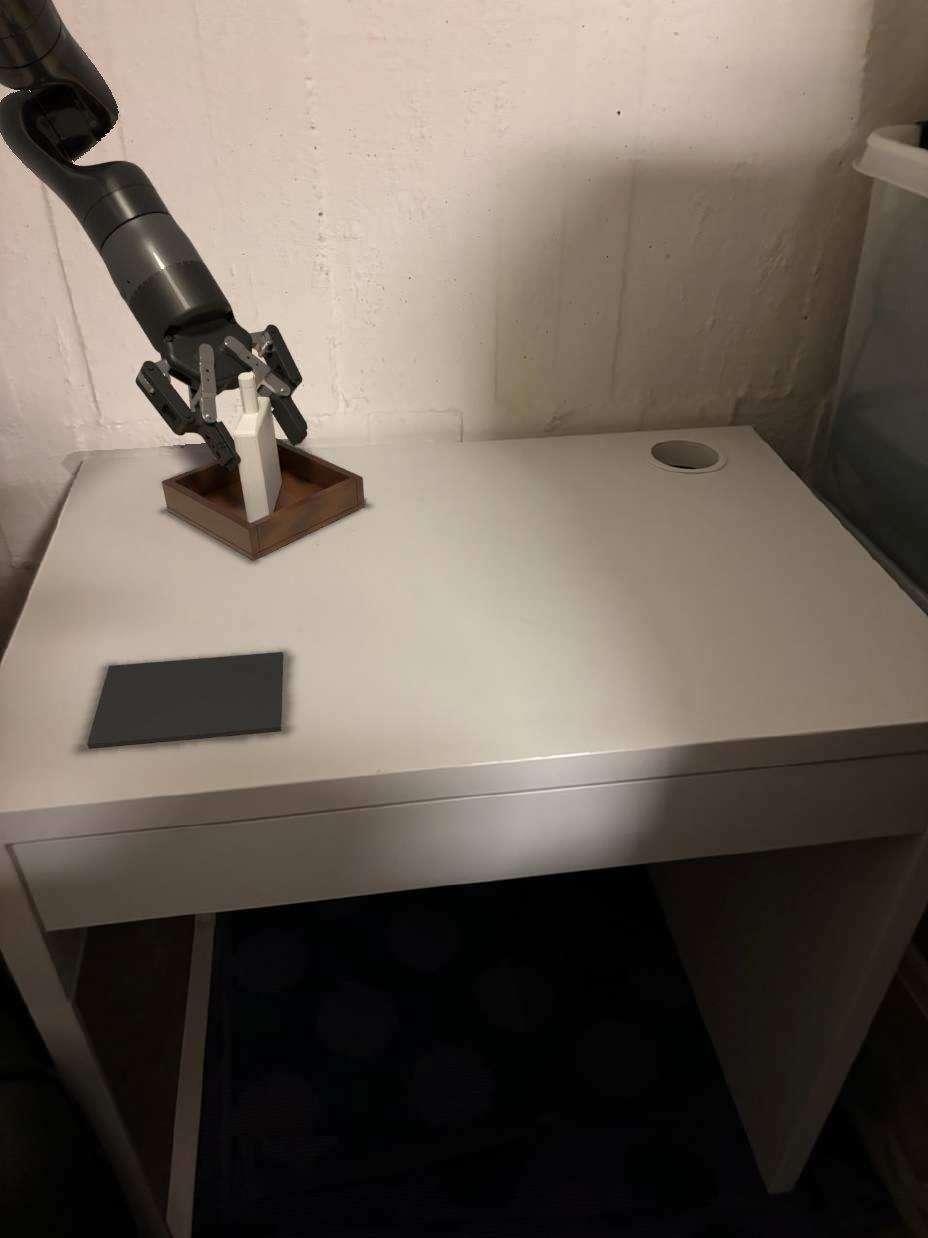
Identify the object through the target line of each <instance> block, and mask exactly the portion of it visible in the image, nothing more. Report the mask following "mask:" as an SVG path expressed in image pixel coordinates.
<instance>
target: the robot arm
mask: <svg viewBox="0 0 928 1238" xmlns="http://www.w3.org/2000/svg"><path fill="white" fill-rule="evenodd" d="M79 45H80V44H79V43H78V42H77V41H76V38H74V37H73V35H72V34H71V32H70V31H69V30H68V28H67V26H66V24H65V23H64V20H63V19H62V18H61V15H60V14H59V11H58V9H57V7H56V5H55V3H54V2H53V0H0V85H2V86H3V87H5V88H8V89H9V90H10V89H14V90H20V91H17V92H15V93H14V92H13V93H10V94H9V95H7V96H6V97H4V98H3V99H2V100H1V102H0V133H1V135H2V137H3V139H4V141H5V142H6V144H7V145H8V146H9V148H10V149H11V150H12V152H13V153H14V154H15V155H16V156H17V157H18V158H19V159H20V160H21V161H22V163H23V164H24V165H25V166H26V169H28V168H29V169H30V170H31V171H32V172H33V173H34V174H35V175H36V177H37V179H39V180H40V181H41V182H42V184H44V183H45V186H47V187H48V188H49V189H50V190H51V192H53V193H54V194H55V195H56V197H58V198H59V199H60V200H61V201H62V203H64V204H65V206H66V207H67V208H68V209H69V210H70V212H71V213H72V215H73V216H74V217H75V218H76V220H77V222H78V223H79V224H80V226H81V228H82V229H83V231H84V232H85V234H86V235H87V237H88V238H89V240H90V242H91V243H92V245H93V247H94V248H95V250H96V251H97V253H98V255H99V256H100V258H101V259H102V261H103V263H104V265H105V267H106V269H107V271H108V274H109V276H110V279H111V280H112V282H113V285H114V286H115V288H116V289H117V291H118V293H119V296H120V297H121V298H122V301H124V302H125V304H126V305H127V307H128V310H130V312H131V313H132V315H133V317H134V318H135V320H136V322H137V323H138V325H139V326H140V328H141V330H142V331H143V333H144V335H145V337H146V338H147V339H148V341H149V343H150V344H151V346H152V348H153V349H154V351H155V352H157V353H158V354H159V355H160V360H158V361H153V360H145V361H144V362H143V363H142V365H141V367H140V369H139V371H138V373H137V375H136V378H135V384H136V386H137V387H138V388H139V389H140V391H141V392H142V394H143V395H144V396H145V397H146V399H147V400H148V401H149V403H150V404H151V405H152V407H153V408H154V409H155V410H156V412H157V413H158V414H159V416H160V417H161V419H163V421H164V422H165V423H166V425H167V427H169V428H170V430H171V431H172V432H173V434H174V435H176V436H180V437H181V436H182V437H183V436H184V435H185V434H196V435H199V436H200V437H202V439H203V441H204V442H205V444H206V446H207V447H208V449H209V451H210V453H211V454H212V455H213V457H214V459H215V460H217V462H218V463H219V464H220V465H221V466H223V467H224V466H226V467H227V469H228V470H229V471H232V470H235V469H237V468H239V466H238V465H239V464H240V462H241V458H240V456H239V455H238V454H237V452H236V448H235V442H234V437H233V435H231V433H230V431H229V430H228V428H227V426H226V425H225V423H224V422H223V420H220V421H218V420H217V419H218V412H217V403H216V402H217V401H216V397H217V396H219V395H220V394H222V393H223V392H224V391H234V390H237V389H239V388H240V386H239V380H238V377H239V375H240V374H242V373H246V372H251V373H253V374H254V377H255V383H256V390H257V397H269V398H270V402H271V408H272V415H273V418H274V419H275V421H276V422H277V423H278V425H279V427H280V428H281V430H282V431H283V434H284V435H285V436H286V438H287V440H288V441H289V444H290V445H292V446H295V447H296V446H297V445H301V444H302V443H303V442H304V441H305V439H306V438H307V437H308V429H309V427H308V423H307V421H306V420H305V418H304V416H303V415H302V413H301V412H300V410H299V408H298V407H297V404H296V402H295V401H294V400H293V398H292V397H293V394H294V392H295V391H296V390H297V388H298V387H299V386H300V385H301V384H302V382H303V376H302V374H301V372H300V370H299V368H298V365H297V364H296V362H295V360H294V357H293V356H292V353H291V351H290V349H289V347H288V345H287V343H286V341H285V339H284V337H283V335H282V334H281V331H280V329H279V328H278V326H276V325H275V324H268V325H267V326H266V328H265V329H264V330H260V331H255V332H249V331H248V330H247V329H245V328H244V327H243V326H241V325H240V324H239V322H237V319H236V317H235V314H234V310H233V307H232V305H231V303H230V301H229V299H228V298H227V297H226V295H225V293H224V292H223V290H222V288H221V287H220V286H219V284H218V281H217V280H216V279H215V277H214V276H213V273H211V270H210V269H209V268H208V266H207V264H206V263H205V261H204V260H203V258H202V256H201V255H200V253H199V251H198V250H197V248H196V247H195V245H194V244H193V242H192V240H191V238H189V236H188V234H187V233H186V232H185V230H183V229H182V228H181V227H180V225H179V223H178V222H177V221H176V219H175V218H174V216H173V214H172V213H171V212H170V210H169V209H168V207H167V205H166V204H165V202H164V200H163V198H162V197H161V195H160V194H159V192H158V190H157V189H156V187H155V185H154V184H153V182H152V181H151V179H150V178H149V176H148V175H147V174H146V172H145V171H144V170H143V168H141V167H140V166H139V165H137V164H136V163H134V162H132V161H128V160H111V161H106V162H100V163H94V164H88V165H80V166H79V165H75V164H73V162H72V160H73V161H74V162H75V161H76V160H77V159H79V157H80V158H81V156H83V155H84V153H85V154H86V152H88V151H90V149H91V148H92V147H94V146H95V145H96V144H97V143H98V142H99V141H101V138H103V137H105V136H106V135H105V134H107V133H109V132H110V130H111V129H113V128H114V127H113V126H114V125H115V124H116V121H117V120H118V113H119V111H118V109H117V108H118V106H117V104H116V101H115V99H114V97H113V95H112V92H111V90H110V89H109V87H108V85H107V84H106V82H105V80H104V79H103V77H102V76H101V74H100V73H99V71H98V70H97V68H96V67H95V65H94V64H93V63H92V62H91V60H90V59H89V58H88V56H87V55H86V53H87V52H86V51H85V50H84V49H83V47H82V46H81V45H80V46H79ZM82 49H83V50H84V51H85V52H86V53H85V52H84V51H83V50H82ZM29 90H30V91H31V92H30V91H29ZM1 135H0V136H1ZM2 137H1V138H2ZM3 139H2V140H3ZM4 141H3V142H4ZM97 141H98V142H97ZM5 142H4V143H5ZM6 144H5V145H6ZM7 145H6V146H7ZM9 148H8V149H9ZM10 149H9V150H10ZM12 152H11V153H12ZM13 153H12V154H13ZM14 154H13V155H14ZM15 155H14V156H15ZM16 156H15V157H16ZM17 157H16V158H17ZM18 158H17V159H18ZM19 159H18V160H19ZM22 163H21V164H22ZM23 164H22V165H23ZM24 165H23V166H24ZM25 166H24V167H25ZM29 169H28V170H29ZM30 170H29V171H30ZM31 171H30V172H31ZM32 172H31V173H32ZM33 173H32V174H33ZM34 174H33V175H34ZM35 175H34V176H35ZM253 350H255V351H256V352H257V356H256V355H255V354H253ZM261 359H264V361H263V360H261ZM171 377H172V378H174V379H175V380H177V381H179V382H180V383H181V384H184V385H185V386H187V390H188V400H189V405H188V404H187V402H185V400H184V399H183V397H182V396H181V395H180V393H179V392H178V391H177V389H176V388H175V387H174V385H173V384H172V378H171Z"/></svg>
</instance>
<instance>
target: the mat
mask: <svg viewBox="0 0 928 1238" xmlns="http://www.w3.org/2000/svg"><path fill="white" fill-rule="evenodd" d="M283 670H284V653H283V651H276V652H265V653H264V652H263V653H262V652H261V653H251V654H250V653H249V654H238V655H228V656H227V655H226V656H214V657H213V656H212V657H201V658H192V659H191V658H189V659H188V658H187V659H177V660H176V659H175V660H166V661H165V660H164V661H151V662H140V663H127V664H126V663H125V664H115V665H108V668H107V672H106V675H105V678H104V682H103V685H102V690H101V692H100V697H99V700H98V704H97V708H96V711H95V715H94V718H93V722H92V726H91V728H90V733H89V736H88V739H87V748H88V749H95V748H106V747H117V746H127V745H128V746H130V745H139V744H150V743H151V744H152V743H161V742H172V741H184V740H193V739H195V740H196V739H205V738H206V739H207V738H218V737H228V736H229V737H230V736H238V735H249V734H261V733H272V732H281V730H282V704H283V703H282V701H283Z"/></svg>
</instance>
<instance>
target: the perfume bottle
mask: <svg viewBox="0 0 928 1238" xmlns="http://www.w3.org/2000/svg"><path fill="white" fill-rule="evenodd" d="M238 380H239V386H240V388H238V389H239V396H240V402H241V407H242V413H241V415H240V417H239V420H238V422H237V425H236V427H235V430H234V431H233V435H232V438H233V440H234V442H235V448H236V452H237V454H238V455H239V456H240V458H241V462H240V464H239V465H238V466H239V472H240V478H241V484H242V489H243V495H244V501H245V507H246V513H247V519H248V522H250V523H252V522H253V521H256V520H258V519H260V518H262V517H265V516H267V515H269V514H271V513H273V512H274V508H275V505H276V501H277V498H278V494H279V491H280V487H281V484H282V479H281V472H280V465H279V458H278V451H277V443H276V438H277V437H276V429H275V423H274V415H273V414H272V410H273V408H272V407H271V402H270V398H269V397H257V390H256V383H255V375H254V373H253V372H252V371H251V372H246V373H242V374H240V375H239V377H238Z"/></svg>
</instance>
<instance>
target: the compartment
mask: <svg viewBox="0 0 928 1238" xmlns="http://www.w3.org/2000/svg"><path fill="white" fill-rule="evenodd" d="M276 443H277V451H278V458H279V465H280V472H281V479H282V484H281V487H280V491H279V494H278V498H277V501H276V505H275V508H274V512H273V513H271V514H269V515H267V516H265V517H262V518H260V519H258V520H256V521H253V522H252V523H250V522H248V519H247V513H246V507H245V501H244V495H243V489H242V484H241V478H240V472H239V468H237V469H235V470H232V471H229V470H228V469H227V467H226V466H224V467H223V466H221V465H220V464H219V463H218V462H217V460H216V459H215V460H213V461H210V462H207V463H205V464H202V465H200V466H198V467H195V468H192V469H189V470H187V471H184V472H181V473H180V474H176V475H174V476H171V477H169V478H166V479H164V480H162V481H161V485H162V490H163V496H164V500H165V506H166V511H167V512H168V513H170V514H171V515H174V516H176V517H178V518H179V519H181V520H183V522H186V523H187V524H189V525H191V526H193V527H195V528H196V529H198V530H200V531H202V532H203V533H205V534H207V535H209V536H210V537H212V538H214V539H216V540H217V541H219V542H221V543H223V544H224V545H226V546H227V547H229V548H231V549H233V550H235V551H236V552H238V553H240V554H242V555H243V556H245V557H247V558H248V559H250V560H252V561H255V560H257V559H260V558H261V557H263V556H266V555H268V554H270V553H273V551H276V550H278V549H280V548H282V547H284V546H286V545H288V544H290V543H292V542H294V541H297V540H299V539H301V538H303V537H304V536H307V535H310V534H311V533H313V532H315V531H317V530H319V529H321V528H323V527H325V526H328V525H329V524H331V523H334V522H336V521H338V520H340V519H342V518H344V517H346V516H348V515H350V514H352V513H354V512H357V511H359V510H360V509H363V508H365V507H366V505H365V489H364V477H363V476H361V475H359V474H357V473H355V472H352V471H351V470H348V469H346V468H344V467H341V466H339V465H337V464H335V463H333V462H330V461H328V460H326V459H323V458H322V457H319V456H317V455H315V454H312V453H310V452H308V451H306V450H304V449H301V448H299V447H297V446H296V445H295V446H293V445H292V444H291V443H288V442H287V441H283V440H281V439H279V438H277V437H276Z"/></svg>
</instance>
